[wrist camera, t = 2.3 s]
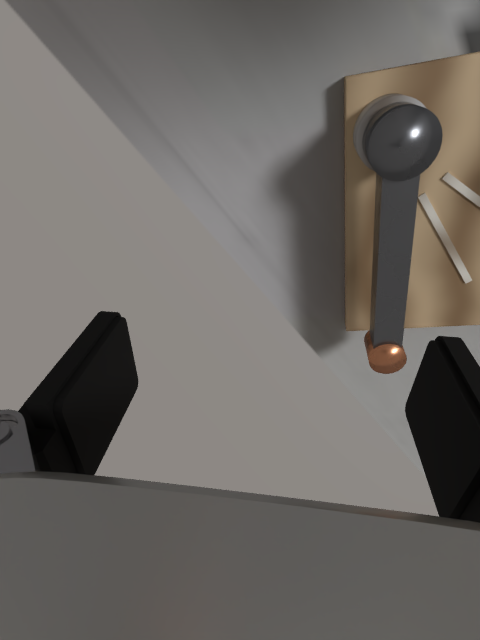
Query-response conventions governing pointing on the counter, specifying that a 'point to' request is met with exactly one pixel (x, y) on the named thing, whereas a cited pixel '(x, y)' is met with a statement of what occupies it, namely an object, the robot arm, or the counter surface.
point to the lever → (395, 219)
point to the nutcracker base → (420, 193)
